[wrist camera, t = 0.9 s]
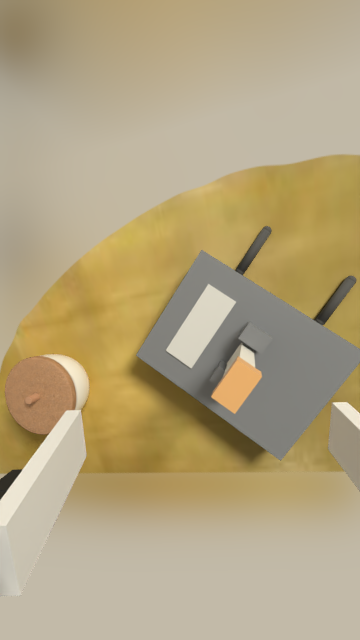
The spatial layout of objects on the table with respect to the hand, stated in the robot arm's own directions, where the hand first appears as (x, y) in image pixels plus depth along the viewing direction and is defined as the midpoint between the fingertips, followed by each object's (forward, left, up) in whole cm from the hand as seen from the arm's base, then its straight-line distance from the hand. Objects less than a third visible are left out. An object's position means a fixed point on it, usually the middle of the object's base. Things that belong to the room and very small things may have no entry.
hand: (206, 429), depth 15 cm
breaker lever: (-1, -1, -19) cm, 19 cm away
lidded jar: (+18, +19, -26) cm, 37 cm away
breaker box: (-1, -1, -26) cm, 26 cm away
